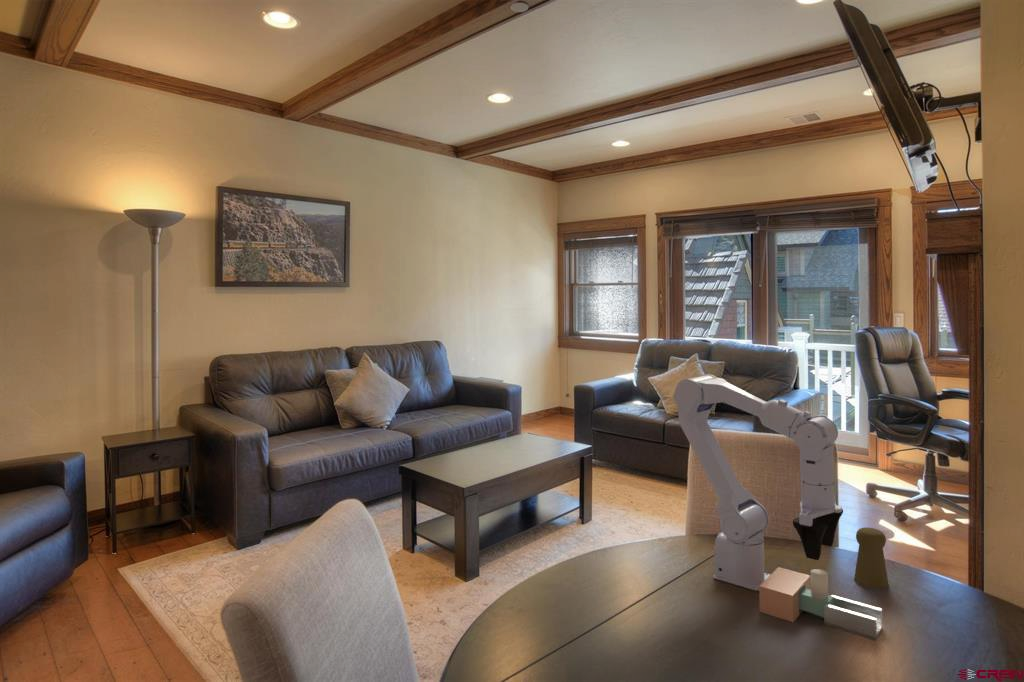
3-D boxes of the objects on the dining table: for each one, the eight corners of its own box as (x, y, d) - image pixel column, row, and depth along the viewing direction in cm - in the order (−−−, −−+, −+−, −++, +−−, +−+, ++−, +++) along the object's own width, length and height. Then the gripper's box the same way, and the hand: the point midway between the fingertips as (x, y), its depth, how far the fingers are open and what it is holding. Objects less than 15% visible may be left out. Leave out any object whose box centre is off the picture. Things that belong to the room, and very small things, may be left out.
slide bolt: (783, 604, 112) (782, 566, 111) (788, 598, 114) (787, 561, 113) (829, 618, 106) (828, 578, 106) (833, 612, 108) (833, 573, 108)
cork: (894, 590, 117) (893, 536, 116) (860, 588, 118) (860, 535, 118) (881, 576, 123) (881, 524, 122) (849, 574, 124) (849, 523, 123)
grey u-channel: (824, 624, 106) (824, 605, 106) (832, 613, 110) (832, 594, 109) (875, 640, 101) (875, 620, 100) (882, 628, 104) (882, 608, 104)
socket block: (759, 611, 111) (759, 585, 111) (778, 591, 119) (778, 567, 118) (793, 622, 107) (792, 595, 107) (810, 600, 115) (810, 575, 114)
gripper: (828, 495, 104) (830, 570, 104) (852, 475, 114) (853, 544, 115) (786, 488, 109) (788, 560, 109) (813, 469, 119) (815, 535, 120)
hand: (819, 551), depth 112 cm, fingers open, 7 cm apart
